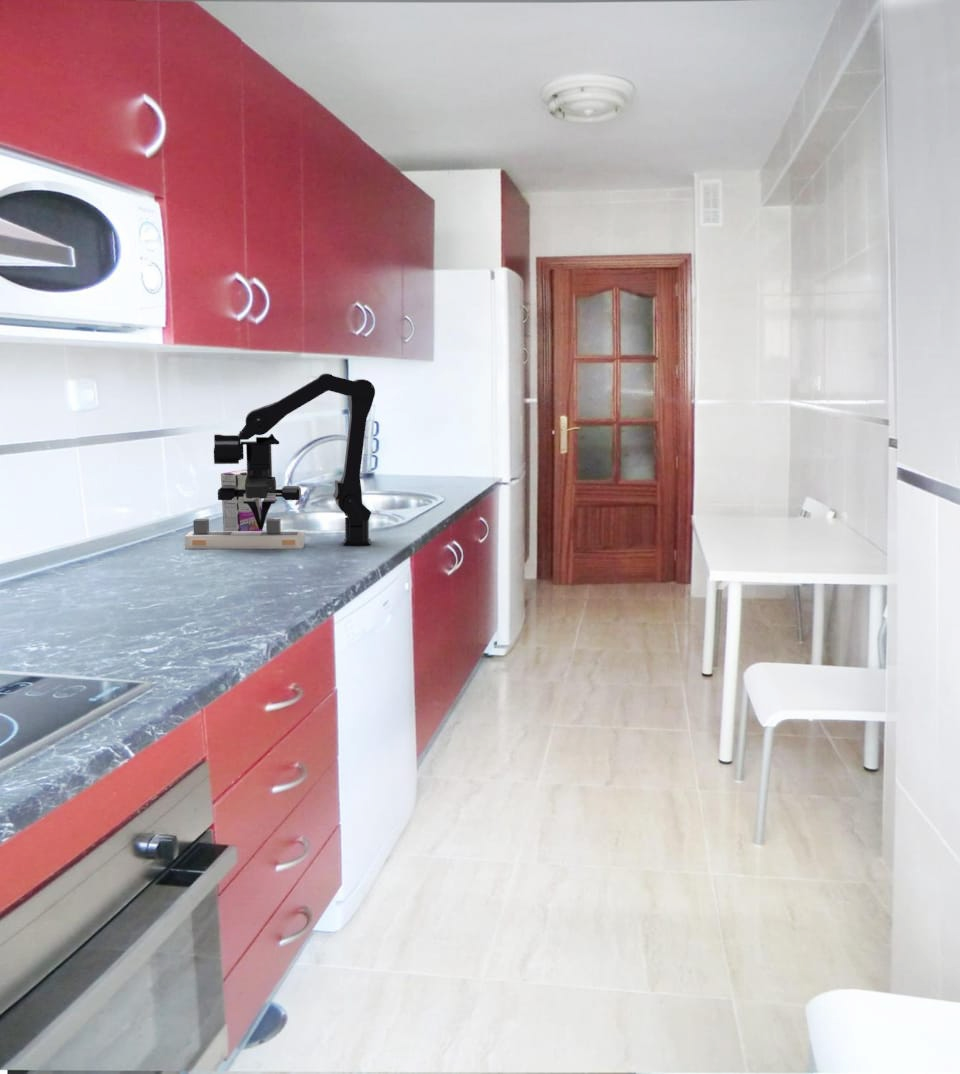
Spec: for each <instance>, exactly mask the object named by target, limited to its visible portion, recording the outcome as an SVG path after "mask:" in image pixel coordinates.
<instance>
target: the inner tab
mask: <svg viewBox="0 0 960 1074" xmlns="http://www.w3.org/2000/svg"><path fill="white" fill-rule="evenodd" d="M281 519H282V518H266V520H265V522H266V528H265V529H266V530H265V531H266V532H267V533H280V532H281V531H282V530H281V529H282V528H281V526H282V525H281V523H282V522H281V521H282V520H281Z"/></svg>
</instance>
